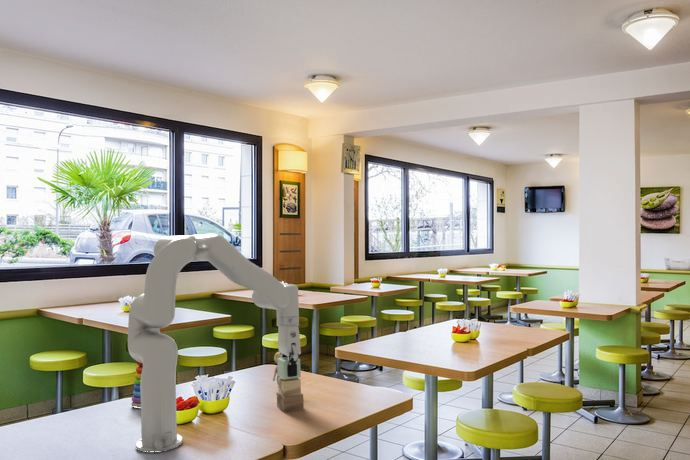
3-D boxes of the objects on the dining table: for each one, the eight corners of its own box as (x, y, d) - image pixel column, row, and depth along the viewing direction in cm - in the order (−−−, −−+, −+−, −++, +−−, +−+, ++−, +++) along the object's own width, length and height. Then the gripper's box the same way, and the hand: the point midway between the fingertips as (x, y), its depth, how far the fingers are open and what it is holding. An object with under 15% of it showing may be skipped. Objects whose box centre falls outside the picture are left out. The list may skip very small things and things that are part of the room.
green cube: (300, 377, 187) (300, 359, 187) (283, 379, 184) (283, 361, 184) (294, 373, 192) (293, 356, 192) (277, 375, 189) (277, 358, 190)
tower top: (300, 394, 187) (300, 379, 187) (283, 397, 184) (283, 382, 184) (295, 390, 192) (294, 375, 192) (278, 392, 190) (278, 377, 190)
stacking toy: (150, 409, 190) (149, 354, 190) (127, 410, 190) (126, 355, 190) (158, 402, 198) (157, 350, 198) (136, 403, 198) (135, 350, 198)
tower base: (303, 409, 187) (303, 394, 187) (283, 412, 184) (283, 397, 184) (296, 404, 193) (295, 389, 193) (277, 407, 190) (276, 392, 190)
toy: (291, 390, 210) (290, 350, 210) (288, 393, 205) (288, 353, 205) (274, 389, 210) (273, 350, 211) (271, 393, 206) (270, 353, 206)
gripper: (307, 323, 182) (308, 378, 182) (289, 316, 198) (290, 367, 197) (286, 325, 179) (287, 381, 179) (269, 318, 194) (270, 370, 194)
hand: (288, 373), depth 188 cm, fingers closed on green cube, 6 cm apart
